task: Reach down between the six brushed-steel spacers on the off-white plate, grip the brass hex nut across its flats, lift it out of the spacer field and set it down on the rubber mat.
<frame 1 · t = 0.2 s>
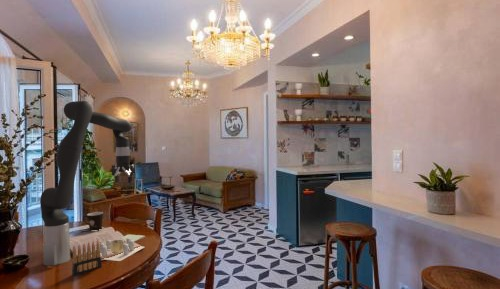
hand: (123, 182, 180), 29 cm above the table, tool pointing down, fingers open, 8 cm apart
rubber mat: (129, 239, 166), on the table
brass nut: (117, 251, 147), point 1 cm above the table, touching spacer plate
coffee mug: (94, 230, 186), on the table
spacer plate: (117, 253, 147), on the table
ammunition clip: (87, 272, 127), on the table
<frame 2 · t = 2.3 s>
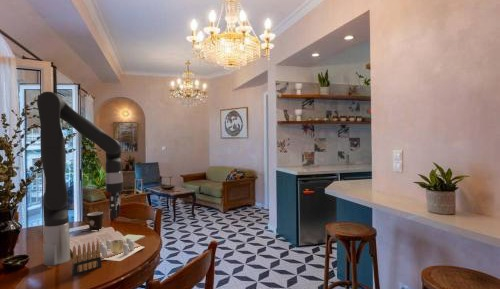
hand: (115, 215, 146), 18 cm above the table, tool pointing down, fingers open, 8 cm apart
nothing on the table moved.
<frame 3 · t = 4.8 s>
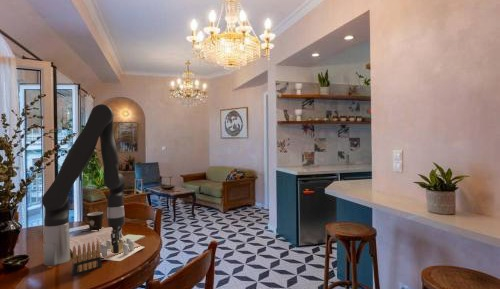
hand: (117, 250, 147), 1 cm above the table, tool pointing down, fingers closed on brass nut, 5 cm apart
brass nut: (117, 251, 147), point 1 cm above the table, touching gripper, spacer plate
everything else where it was.
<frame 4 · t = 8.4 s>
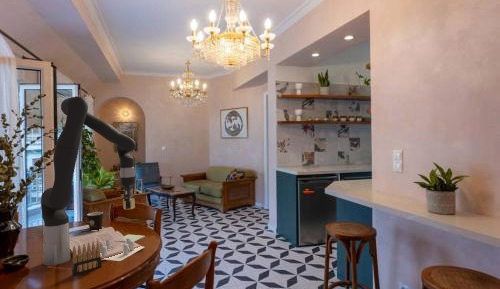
hand: (129, 207, 165), 18 cm above the table, tool pointing down, fingers closed on brass nut, 5 cm apart
brass nut: (129, 208, 165), point 17 cm above the table, touching gripper
everything else where it was.
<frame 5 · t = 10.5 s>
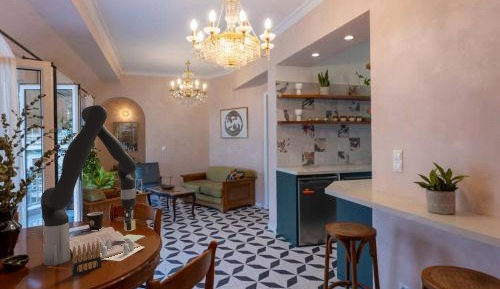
hand: (129, 228, 166), 6 cm above the table, tool pointing down, fingers closed on brass nut, 5 cm apart
brass nut: (129, 229, 166), point 6 cm above the table, touching gripper
everything else where it was.
when the fingers open (3 cm above the table, at t = 12.1 s): brass nut drops 2 cm, resting on rubber mat.
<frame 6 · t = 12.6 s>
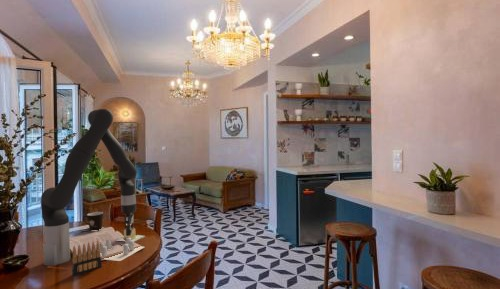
hand: (129, 233, 166), 4 cm above the table, tool pointing down, fingers open, 8 cm apart
brass nut: (130, 238, 166), point 1 cm above the table, touching rubber mat
everything else where it was.
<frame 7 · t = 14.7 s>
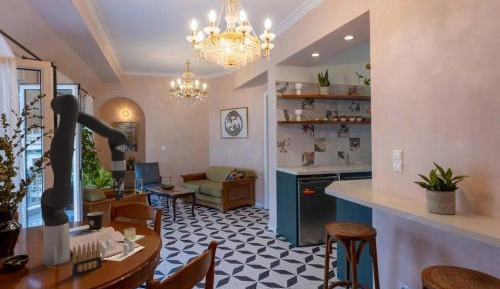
hand: (119, 199, 165), 22 cm above the table, tool pointing down, fingers open, 8 cm apart
nothing on the table moved.
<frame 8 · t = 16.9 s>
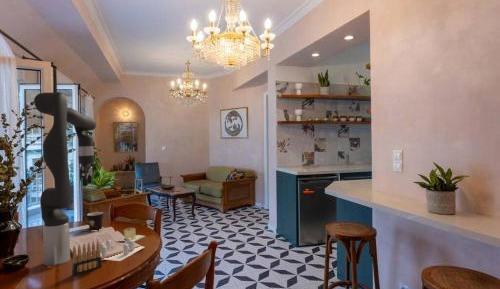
hand: (87, 184, 167), 30 cm above the table, tool pointing down, fingers open, 8 cm apart
nothing on the table moved.
at the end: brass nut 0.2 cm from the rubber mat (horizontally); brass nut touching rubber mat; the gripper is holding nothing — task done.
